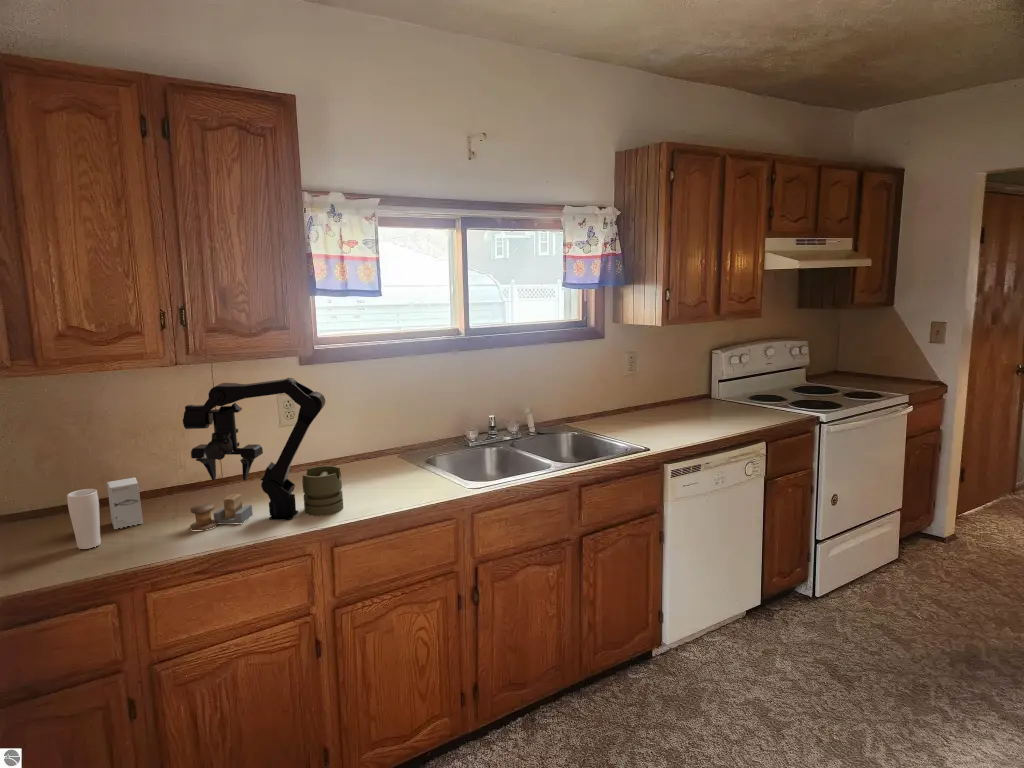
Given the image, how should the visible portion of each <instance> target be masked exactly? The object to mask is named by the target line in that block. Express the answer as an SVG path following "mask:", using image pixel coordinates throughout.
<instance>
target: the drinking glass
mask: <svg viewBox="0 0 1024 768" xmlns="http://www.w3.org/2000/svg"><path fill="white" fill-rule="evenodd" d="M66 499H67V507H68V513H69V517H70V521H71V524H72V525H71V526H72V528H73V532H74V538H75V541H76V547H78V548H79V549H78V548H77V549H78V550H80V549H88V548H92V547H95V548H97V547H96V546H98V545H99V546H100V545H101V543H102V540H101V525H100V524H101V523H100V521H101V520H100V519H101V517H100V501H99V493H98V490H97V489H96V488H84V489H79V490H75V491H72V492H69V493H68V494H67V495H66ZM99 546H98V547H99Z"/></svg>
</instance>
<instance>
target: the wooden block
mask: <svg viewBox="0 0 1024 768" xmlns="http://www.w3.org/2000/svg"><path fill="white" fill-rule="evenodd" d="M242 498H243V497H242V494H241V493H231V494H229V495H228V496H226V497H225V498H223V506H224V509H225V517H230V518H235V513H236V512H237V511H239V510H240V509H241V508H242V507H243V499H242Z"/></svg>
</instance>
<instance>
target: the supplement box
mask: <svg viewBox="0 0 1024 768" xmlns="http://www.w3.org/2000/svg"><path fill="white" fill-rule="evenodd" d="M106 487H107V488H106V489H107V494H108V495H107V496H108V502H109V512H110V521H111V524H113V525H112V526H113V527H112V528H113V530H114V529H117V530H119V529H118V528H120V529H123V527H125V528H128V527H127V526H130V527H133V526H132V525H135V526H138V525H137V524H141V525H143V524H144V520H143V511H142V505H141V496H140V487H139V482H138V480H137V478H136V477H129V478H124V479H118V480H112V481H111V480H110V481H107V482H106Z"/></svg>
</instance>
